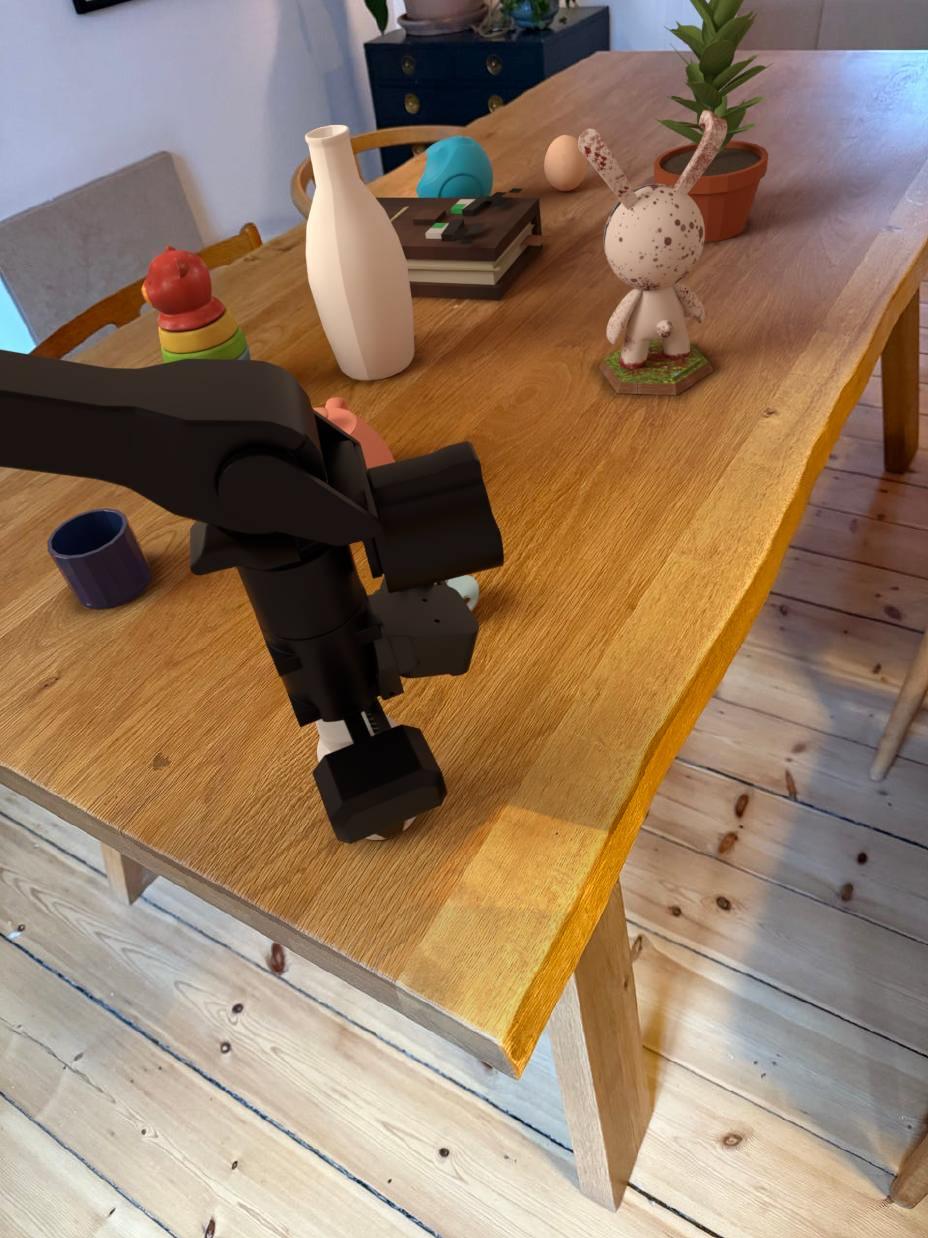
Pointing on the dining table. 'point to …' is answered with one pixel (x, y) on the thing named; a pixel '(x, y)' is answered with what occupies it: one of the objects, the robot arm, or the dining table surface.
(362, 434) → the sugar bowl
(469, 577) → the pacifier
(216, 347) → the stacking bear
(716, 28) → the potted plant
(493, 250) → the decorative book
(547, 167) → the egg
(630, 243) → the figurine
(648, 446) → the dining table surface
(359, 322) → the bottle
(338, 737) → the pill bottle
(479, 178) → the blue rounded dome
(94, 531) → the dark blue cup
